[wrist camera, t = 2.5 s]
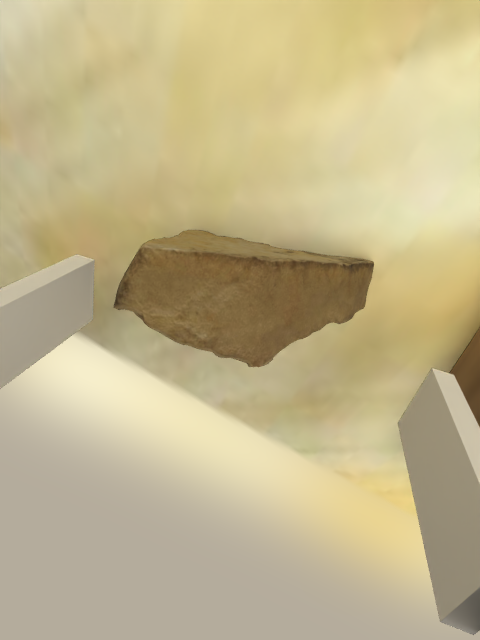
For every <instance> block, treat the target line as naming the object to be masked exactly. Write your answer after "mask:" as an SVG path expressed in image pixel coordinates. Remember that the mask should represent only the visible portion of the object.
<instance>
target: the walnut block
mask: <svg viewBox="0 0 480 640" xmlns="http://www.w3.org/2000/svg"><path fill="white" fill-rule="evenodd" d="M450 374H453V375H454V376H455V378H456V380H457V382H458V384H459V386H460V389H461V391H462V393H463V395H464V397H465V399H466V401H467V403H468V405H469V407H470V409H471V411H472V413H473V415H474V417H475V419H476V421H477V423H478V425H479V427H480V328H479V330H478V331H477V333H476V334H475V336H474V337H473V339H472V340H471V342H470V343H469V345H468V346H467V348H466V349H465V351H464V352H463V354H462V355H461V357H460V358H459V360H458V361H457V363H456V364H455V366H454V367H453V369H452V370H451V372H450Z"/></svg>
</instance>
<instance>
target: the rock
mask: <svg viewBox="0 0 480 640" xmlns="http://www.w3.org/2000/svg"><path fill="white" fill-rule="evenodd" d="M373 267H374V263H373V262H372V261H368V260H364V259H358V258H350V257H340V256H327V255H321V254H315V253H310V252H305V251H294V250H287V249H281V248H275V247H272V246H270V245H268V244H263V243H256V242H250V241H247V240H244V239H241V238H230V237H225V236H216V235H214V234H212V233H209V232H206V231H199V230H187V231H183V232H181V233H180V234H179V235H178V236H177V235H176V236H174V237H171V238H162V239H152V240H150V241H148V242H146V243H144V244H142V246H141V247H140V249H139V251H138V252H137V254H136V255H135V257H134V259H133V260H132V262H131V264H130V266H129V267H128V269H127V271H126V273H125V274H124V276H123V278H122V280H121V282H120V284H119V288H118V291H117V294H116V300H115V304H114V308H116V309H118V310H120V309H126V310H130V311H133V312H134V313H135V314H136V315H137V316H138V317H139V318H141V319H142V320H143V321H144V323H145V324H146V325H147V326H148V327H150V328H152V329H154V330H156V331H158V332H160V333H161V334H163V335H165V336H166V337H168V338H170V339H172V340H173V341H175V342H177V343H180V344H183V345H188V346H192V347H195V348H197V349H200V350H205V351H210V352H213V353H214V354H215V355H216V356H218V357H221V358H233V359H236V360H239V361H242V362H245V363H247V364H248V367H261V366H264V365H266V364H268V363H269V362H270V361H272V360H273V357H274V356H275V355H276V354H277V353H278V352H279V351H281V350H282V349H283V348H285V347H286V346H288V345H289V344H291V343H292V342H294V341H296V340H298V339H303V338H305V337H307V336H309V335H311V334H312V333H313V332H315V331H318V330H320V329H321V328H323V327H324V326H325V325H326V324H328V323H332V322H335V323H338V324H341V323H345V322H347V321H349V320H350V319H351V318H352V317H353V316H354V314H355V313H356V312H357V311H359V310H361V309H363V308H364V307H365V302H366V296H367V291H368V287H369V284H370V281H371V278H372V273H373Z"/></svg>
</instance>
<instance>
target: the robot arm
mask: <svg viewBox="0 0 480 640" xmlns="http://www.w3.org/2000/svg"><path fill="white" fill-rule="evenodd" d="M94 261H95V260H93V259H90V258H87V257H84V256H81V255H78V254H76V255H74V256H72V257H69V258H67V259H65V260H63V261H60V262H58V263H56V264H54V265H51V266H49V267H47V268H45V269H43V270H40V271H38V272H36V273H34V274H31V275H29V276H27V277H25V278H22V279H20V280H18V281H16V282H14V283H11V284H9V285H7V286H5V287H2V288H0V389H1V388H2V387H3V386H5V385H6V384H7V383H9V382H10V381H11V380H13V379H14V378H15V377H16V376H18V375H19V374H21V373H22V372H23V371H25V370H26V369H27V368H29V367H30V366H31V365H33V364H34V363H36V362H37V361H38V360H40V359H41V358H42V357H44V356H45V355H46V354H48V353H49V352H50V351H52V350H53V349H54V348H56V347H57V346H58V345H60V344H61V343H62V342H64V341H65V340H66V339H68V338H69V337H70V336H72V335H73V334H74V333H76V332H77V331H78V330H80V329H81V328H82V327H84V326H85V325H87V324H88V323H89V322H91V321H92V320H93V300H94ZM398 426H399V431H400V436H401V440H402V445H403V450H404V455H405V459H406V464H407V469H408V473H409V478H410V483H411V487H412V492H413V497H414V502H415V506H416V511H417V516H418V520H419V525H420V530H421V534H422V539H423V544H424V549H425V553H426V558H427V563H428V567H429V571H430V577H431V581H432V586H433V591H434V595H435V600H436V605H437V610H438V614H439V619H440V622H442V623H444V624H447V625H450V626H452V627H455V628H457V629H460V630H462V631H465V632H467V633H470V634H473V635H474V634H476V633H477V632H478V631H479V630H480V427H479V425H478V423H477V421H476V419H475V417H474V415H473V413H472V411H471V409H470V407H469V405H468V403H467V401H466V399H465V397H464V395H463V393H462V391H461V389H460V386H459V384H458V382H457V380H456V378H455V376H454V375H453V374H450V373H447V372H443V371H440V370H437V369H434V368H431V370H430V372H429V373H428V375H427V377H426V378H425V380H424V381H423V383H422V385H421V386H420V388H419V389H418V391H417V393H416V394H415V396H414V397H413V399H412V401H411V402H410V404H409V406H408V407H407V409H406V410H405V412H404V414H403V415H402V417H401V418H400V420H399V422H398Z"/></svg>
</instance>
